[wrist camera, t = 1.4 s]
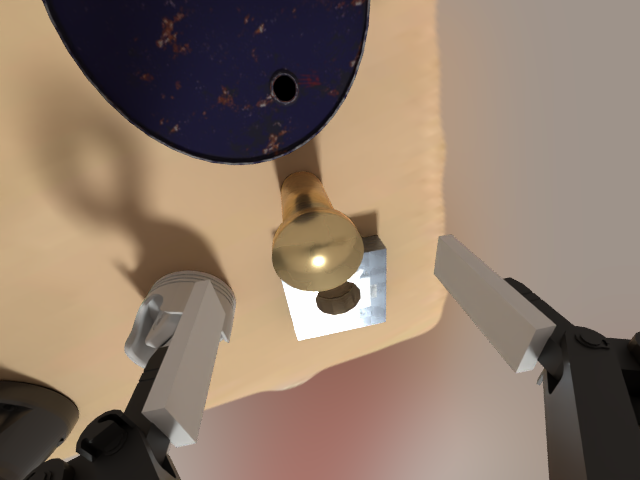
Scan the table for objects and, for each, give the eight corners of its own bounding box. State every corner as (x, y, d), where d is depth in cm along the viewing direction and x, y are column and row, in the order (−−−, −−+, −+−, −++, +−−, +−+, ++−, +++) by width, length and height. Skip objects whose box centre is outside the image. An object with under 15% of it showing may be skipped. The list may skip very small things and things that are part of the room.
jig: (296, 322, 37) (298, 340, 34) (278, 254, 30) (278, 269, 28) (378, 305, 37) (385, 321, 35) (377, 235, 31) (386, 248, 29)
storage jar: (157, 44, 19) (-64, -32, 7) (246, -75, 17) (165, -533, 4) (257, 146, 24) (239, 215, 11) (338, 64, 22) (427, 35, 9)
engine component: (252, 298, 33) (181, 255, 29) (228, 530, 16) (38, 516, 11) (200, 343, 36) (127, 310, 31) (131, 584, 19) (-55, 590, 14)
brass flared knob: (279, 222, 28) (282, 299, 18) (267, 168, 25) (261, 225, 15) (333, 212, 29) (365, 282, 19) (327, 158, 26) (361, 206, 15)
